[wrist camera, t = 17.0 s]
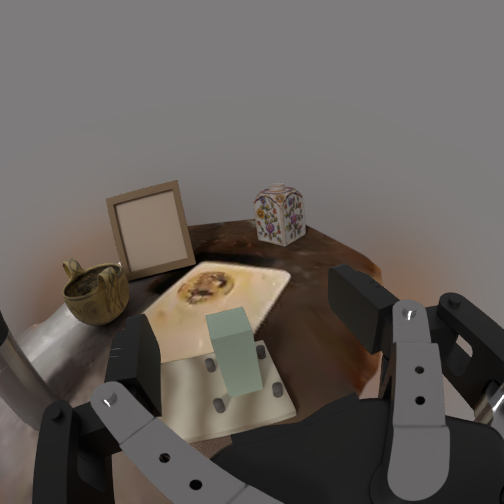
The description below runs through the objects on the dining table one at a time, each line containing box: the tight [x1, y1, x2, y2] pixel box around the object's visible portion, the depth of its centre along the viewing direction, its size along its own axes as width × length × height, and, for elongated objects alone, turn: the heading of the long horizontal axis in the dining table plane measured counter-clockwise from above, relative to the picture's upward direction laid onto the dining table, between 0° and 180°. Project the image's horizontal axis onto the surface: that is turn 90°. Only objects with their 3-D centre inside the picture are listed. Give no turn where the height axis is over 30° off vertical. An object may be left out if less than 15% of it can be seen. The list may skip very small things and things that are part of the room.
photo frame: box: [106, 180, 196, 281], centre depth 79 cm, size 15×22×25 cm
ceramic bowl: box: [62, 257, 129, 326], centre depth 58 cm, size 22×17×15 cm
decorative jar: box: [254, 183, 306, 247], centre depth 87 cm, size 12×12×18 cm
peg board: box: [158, 340, 296, 443], centre depth 37 cm, size 24×16×4 cm, turn 105°
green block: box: [206, 307, 263, 398], centre depth 36 cm, size 5×5×12 cm
